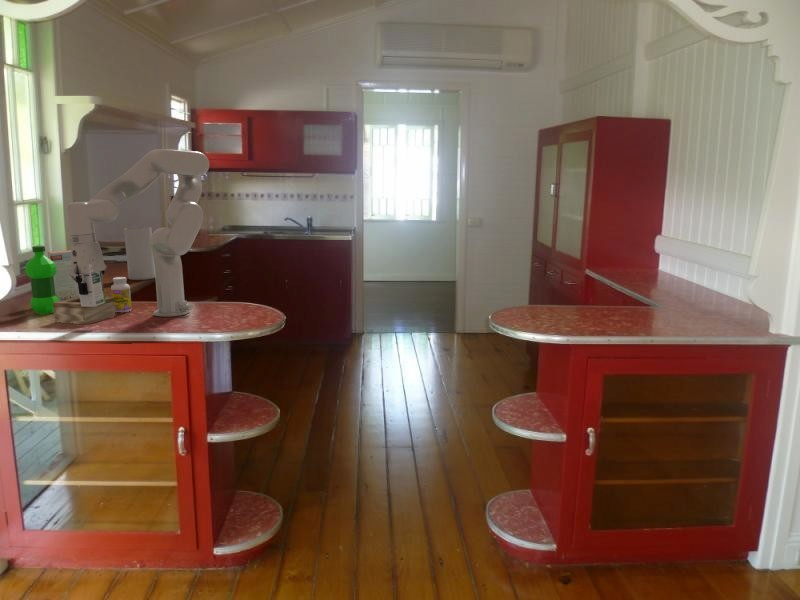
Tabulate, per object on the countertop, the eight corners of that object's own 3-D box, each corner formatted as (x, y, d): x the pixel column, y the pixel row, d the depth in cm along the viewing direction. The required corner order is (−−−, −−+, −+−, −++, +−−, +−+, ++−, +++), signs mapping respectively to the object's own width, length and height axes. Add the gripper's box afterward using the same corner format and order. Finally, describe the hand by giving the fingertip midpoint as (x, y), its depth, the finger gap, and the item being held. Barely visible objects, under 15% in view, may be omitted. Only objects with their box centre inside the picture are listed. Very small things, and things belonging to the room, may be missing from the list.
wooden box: (115, 316, 250) (113, 297, 249) (86, 324, 237) (84, 304, 236) (85, 314, 255) (83, 295, 253) (54, 322, 242) (52, 302, 240)
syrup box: (95, 306, 230) (89, 264, 227) (80, 306, 231) (73, 264, 228) (106, 303, 235) (100, 261, 232) (91, 303, 236) (84, 261, 233)
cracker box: (89, 298, 287) (84, 248, 283) (93, 300, 282) (88, 250, 279) (52, 302, 279) (47, 251, 275) (55, 305, 274) (49, 252, 270)
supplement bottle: (111, 314, 255) (108, 279, 252) (114, 310, 261) (110, 277, 259) (130, 312, 256) (127, 278, 254) (132, 309, 263) (129, 276, 260)
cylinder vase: (159, 278, 341) (155, 227, 336) (134, 281, 333) (129, 229, 328) (149, 275, 350) (145, 226, 345) (124, 278, 342) (120, 228, 337)
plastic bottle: (47, 309, 265) (39, 244, 261) (67, 311, 261) (60, 245, 257) (24, 314, 256) (16, 247, 251) (44, 316, 252) (37, 248, 247)
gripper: (72, 243, 219) (80, 298, 223) (111, 236, 235) (118, 287, 239) (54, 243, 222) (62, 297, 226) (94, 236, 238) (101, 287, 241)
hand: (91, 291), depth 232 cm, fingers closed on syrup box, 6 cm apart
